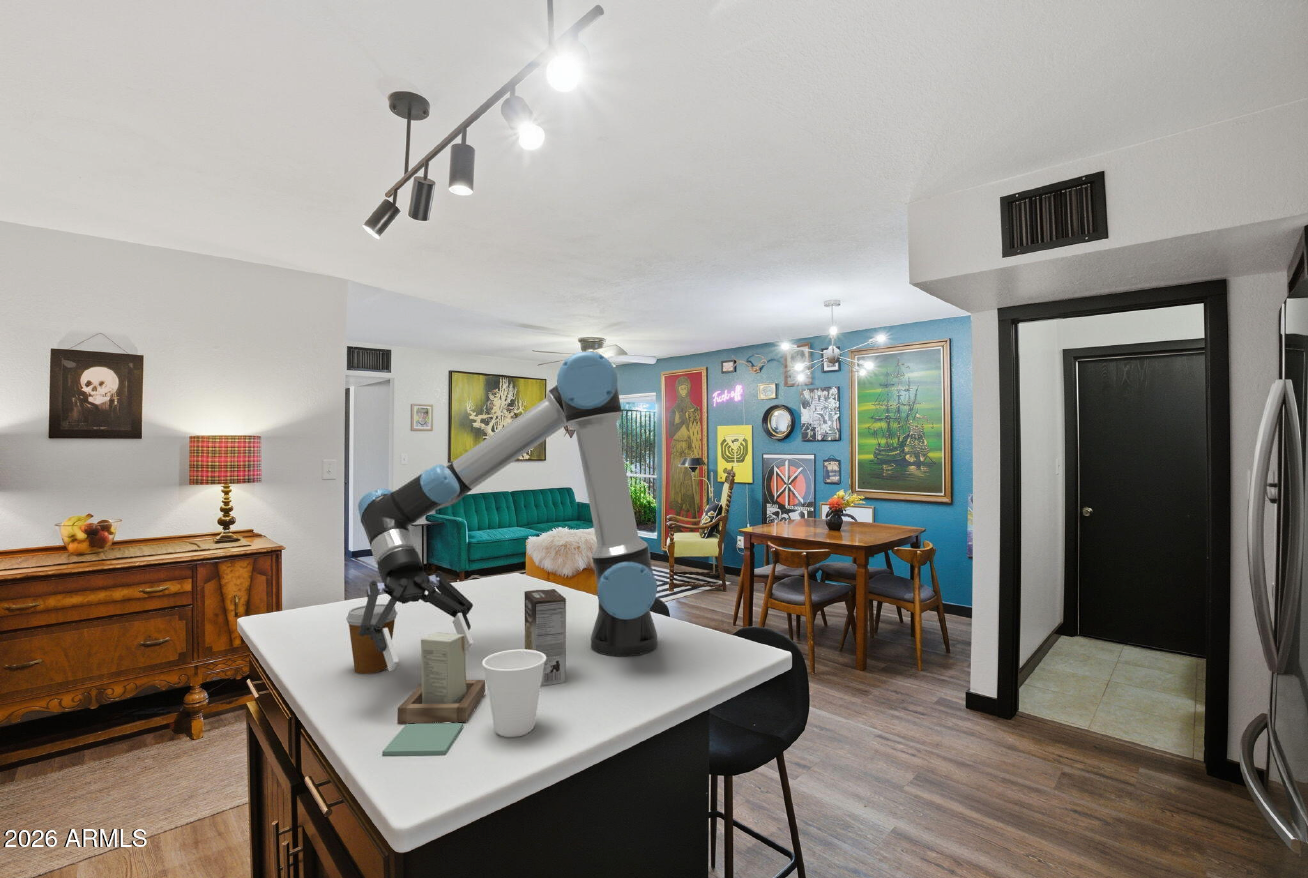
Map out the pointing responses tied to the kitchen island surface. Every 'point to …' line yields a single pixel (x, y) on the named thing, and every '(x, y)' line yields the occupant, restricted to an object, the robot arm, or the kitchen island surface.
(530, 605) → the coffee box
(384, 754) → the rubber mat
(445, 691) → the skincare box
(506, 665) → the cup
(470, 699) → the wooden square frame
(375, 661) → the disposable coffee cup
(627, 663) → the kitchen island surface
